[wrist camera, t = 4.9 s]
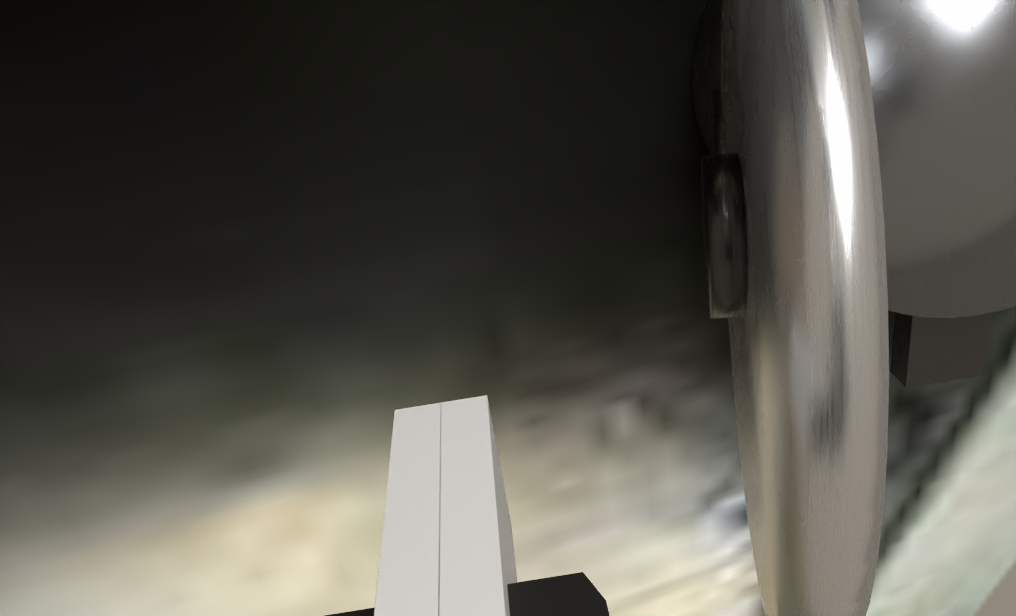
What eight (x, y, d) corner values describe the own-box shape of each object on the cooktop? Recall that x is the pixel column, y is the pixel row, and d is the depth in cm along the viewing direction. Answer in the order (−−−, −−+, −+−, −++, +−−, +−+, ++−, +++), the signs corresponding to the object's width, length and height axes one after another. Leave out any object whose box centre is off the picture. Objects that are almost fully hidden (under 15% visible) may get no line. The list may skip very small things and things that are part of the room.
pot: (700, 308, 38) (776, 431, 30) (680, -212, 29) (784, -263, 20) (989, 262, 38) (1154, 371, 29) (1066, -274, 29) (1345, -354, 20)
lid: (753, 361, 29) (701, 363, 29) (751, -130, 22) (682, -119, 22) (853, 842, 15) (750, 834, 15) (941, -131, 7) (740, -100, 8)
